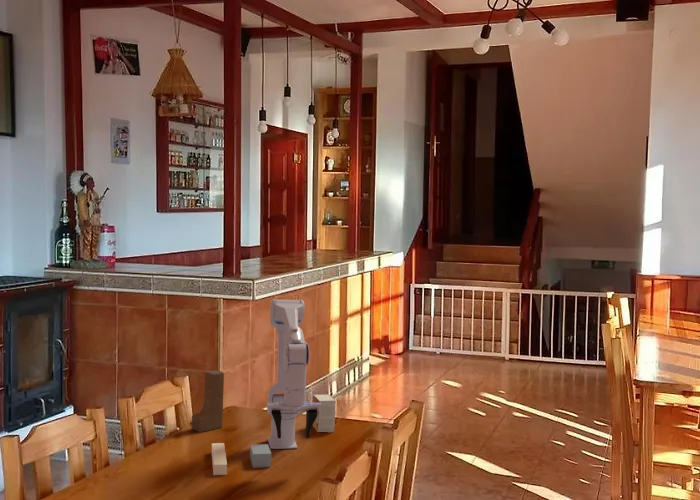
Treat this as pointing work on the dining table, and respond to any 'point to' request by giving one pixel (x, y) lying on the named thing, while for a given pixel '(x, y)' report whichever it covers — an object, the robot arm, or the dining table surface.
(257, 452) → the block
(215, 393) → the wooden block
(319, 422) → the small box
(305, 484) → the dining table surface
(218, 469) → the beige rectangular bar
